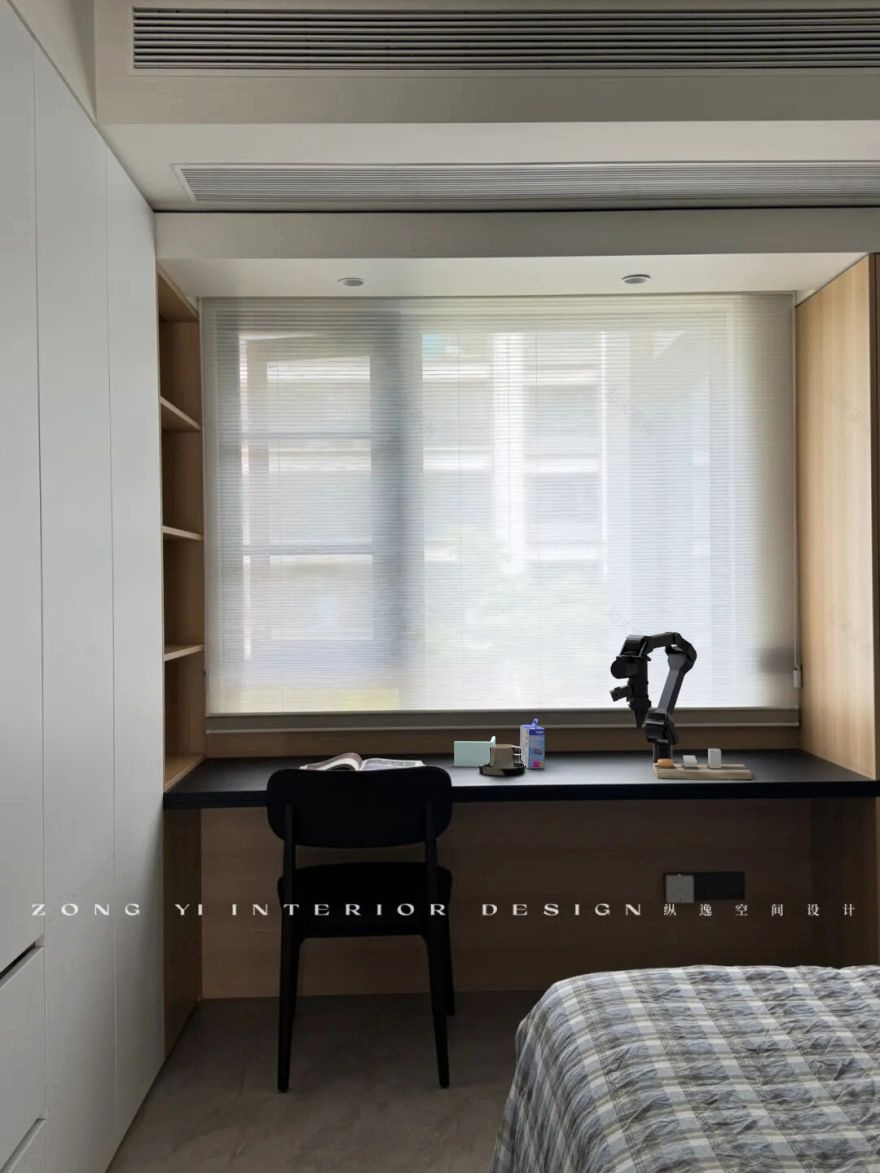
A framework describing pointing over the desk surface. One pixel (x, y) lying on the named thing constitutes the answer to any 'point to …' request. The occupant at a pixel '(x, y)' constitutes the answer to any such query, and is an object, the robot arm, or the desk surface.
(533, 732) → the ink cartridge box
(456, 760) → the right angle wall
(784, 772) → the desk surface
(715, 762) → the metal slider
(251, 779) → the desk surface
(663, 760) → the orange button
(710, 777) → the control panel
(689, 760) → the block
